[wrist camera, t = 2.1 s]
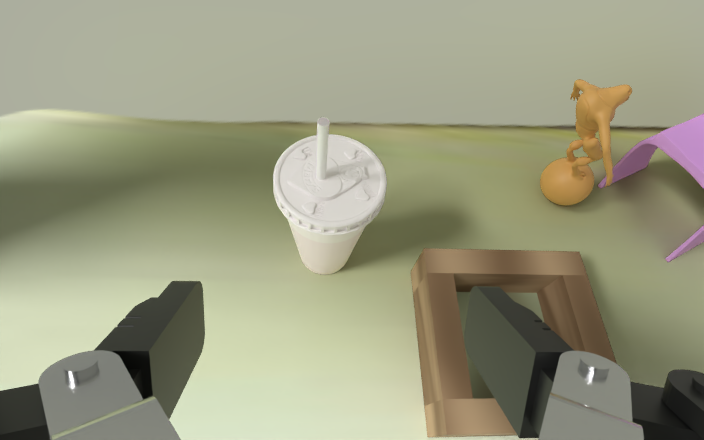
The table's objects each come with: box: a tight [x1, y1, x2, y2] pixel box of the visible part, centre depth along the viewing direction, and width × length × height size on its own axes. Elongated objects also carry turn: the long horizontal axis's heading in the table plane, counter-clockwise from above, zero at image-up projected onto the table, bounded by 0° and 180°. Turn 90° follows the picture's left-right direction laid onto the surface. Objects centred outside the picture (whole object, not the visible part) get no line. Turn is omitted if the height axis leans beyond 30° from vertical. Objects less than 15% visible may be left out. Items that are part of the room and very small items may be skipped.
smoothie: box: [273, 117, 387, 275], centre depth 24 cm, size 6×6×14 cm
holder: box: [411, 248, 617, 437], centre depth 26 cm, size 11×11×4 cm
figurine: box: [540, 79, 632, 205], centre depth 30 cm, size 8×6×12 cm
